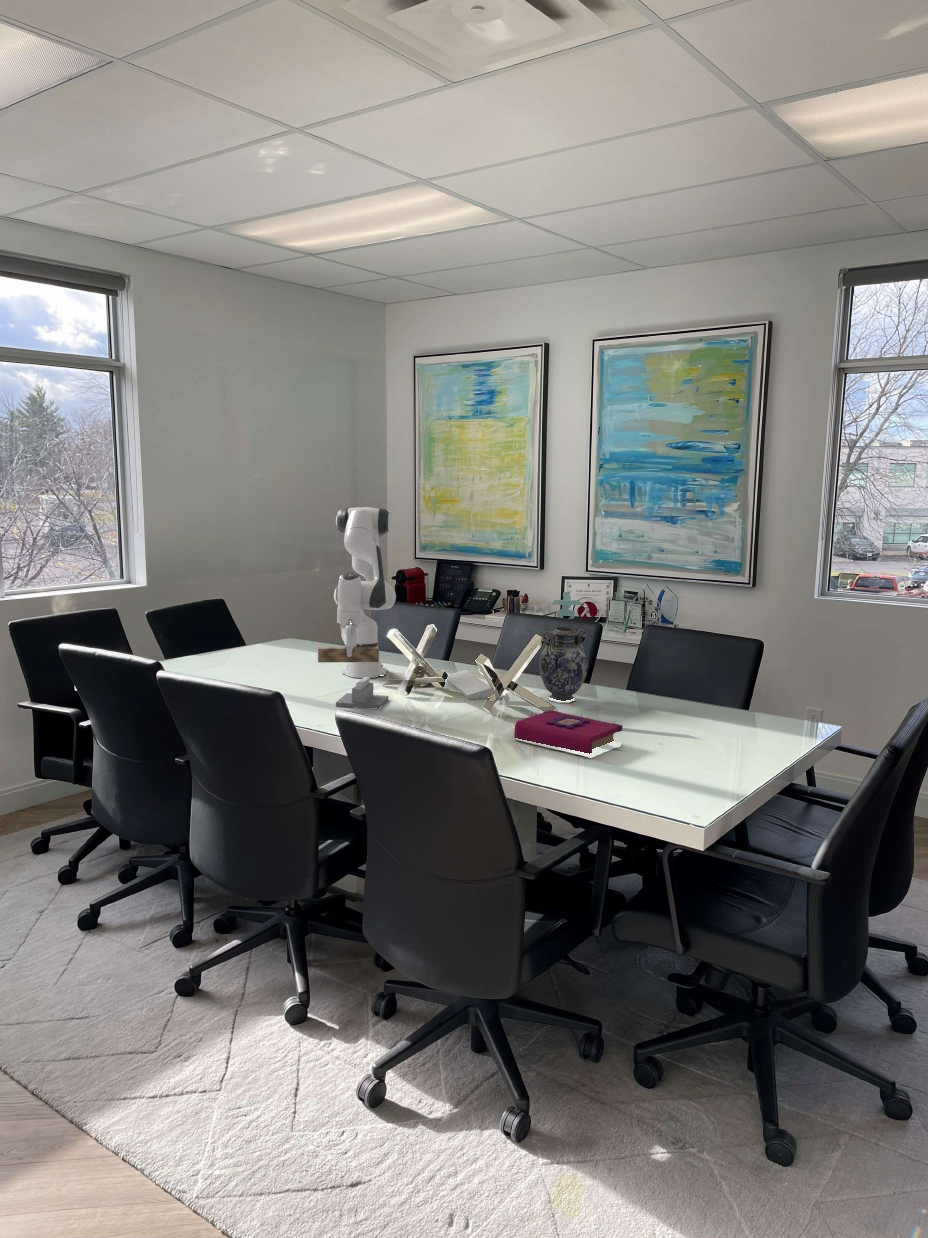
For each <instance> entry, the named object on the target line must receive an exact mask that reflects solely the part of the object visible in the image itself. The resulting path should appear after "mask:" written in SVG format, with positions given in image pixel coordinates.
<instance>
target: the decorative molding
mask: <svg viewBox="0 0 928 1238" xmlns="http://www.w3.org/2000/svg"><path fill="white" fill-rule="evenodd" d="M447 675H448V678H447V682H446V683H448V684H449V685H450V686H451V687H453V688H454V689H455V690H457V691H458V692H459V693H461V694H462V695H463V696H464V697H466V698H467V699H468V700H479V699H480V700H482V699H486V698H488V697H490V696H491V695H492V694H493V695H494V691H493V687H492V686H490V685H489V684H487V683H485V682H484V681H483V680H481V679H480V678H479V677H477V676H476V675H474V674H473V673H471V672H470V671H469V670H467V669H463V670H459V671H457V672H454V673H451V674H447Z"/></svg>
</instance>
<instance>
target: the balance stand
mask: <svg viewBox="0 0 928 1238" xmlns="http://www.w3.org/2000/svg"><path fill="white" fill-rule="evenodd" d="M370 679H371V678H370V677H364V678H360V680H359V681H357V682H356V684H355V685H354V687H352V688H351V693H350V692H349V693H348V692H347V693H346V694H344V695H343V696H342V697H341V698H339V699H338V700H337V701H336V702H335V707H340V708H341V707H342V708H353V707H358V708H357V709H367V708H377V709H376V710H380V709H381V708H382V707H383V706H384V705H385V704H386V703H387V702H388V701H389V696H390V695H379V694H374V682H370ZM381 706H382V707H381ZM380 707H381V708H380ZM379 708H380V709H379Z"/></svg>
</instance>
